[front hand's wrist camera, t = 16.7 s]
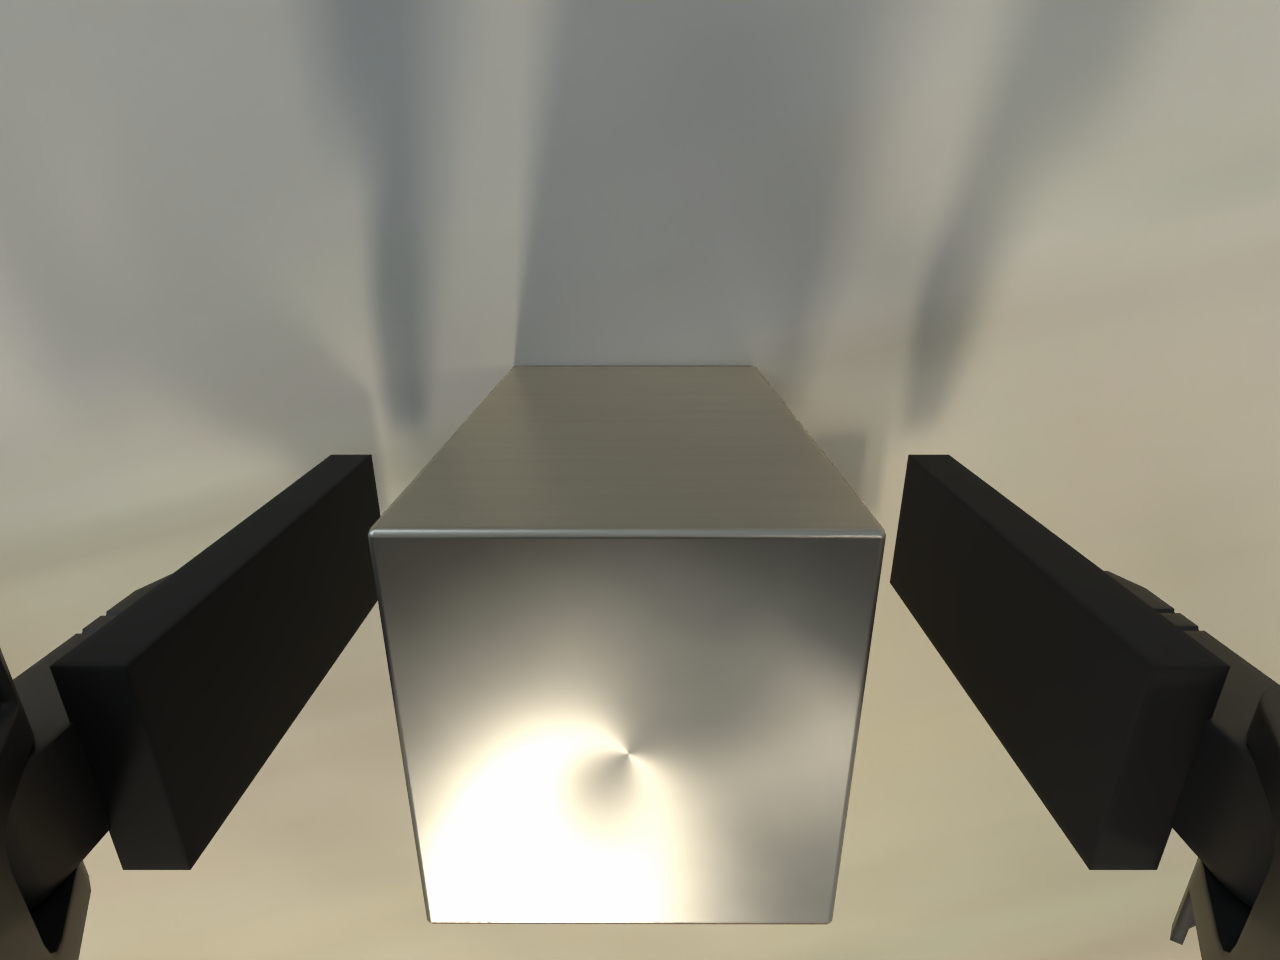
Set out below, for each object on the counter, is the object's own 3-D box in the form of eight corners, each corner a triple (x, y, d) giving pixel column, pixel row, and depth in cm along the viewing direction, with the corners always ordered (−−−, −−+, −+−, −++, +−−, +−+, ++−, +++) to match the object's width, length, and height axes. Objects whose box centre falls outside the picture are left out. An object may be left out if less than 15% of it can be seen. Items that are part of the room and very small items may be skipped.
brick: (756, 365, 14) (890, 530, 6) (742, 594, 16) (834, 927, 8) (512, 365, 14) (362, 530, 7) (527, 594, 16) (425, 926, 8)
